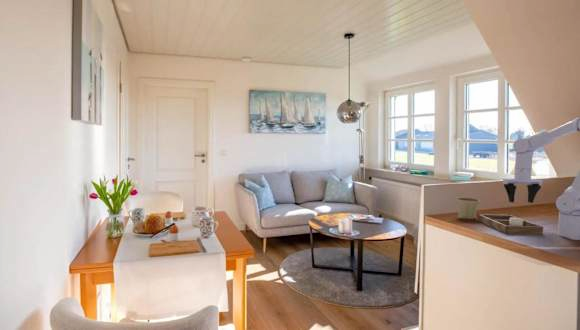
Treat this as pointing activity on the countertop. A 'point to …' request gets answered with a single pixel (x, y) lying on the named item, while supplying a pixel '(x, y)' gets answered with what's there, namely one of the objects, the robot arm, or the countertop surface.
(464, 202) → the flower pot
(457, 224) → the countertop surface
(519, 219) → the white rounded egg-shaped piece
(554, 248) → the countertop surface
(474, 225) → the countertop surface
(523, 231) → the bin
